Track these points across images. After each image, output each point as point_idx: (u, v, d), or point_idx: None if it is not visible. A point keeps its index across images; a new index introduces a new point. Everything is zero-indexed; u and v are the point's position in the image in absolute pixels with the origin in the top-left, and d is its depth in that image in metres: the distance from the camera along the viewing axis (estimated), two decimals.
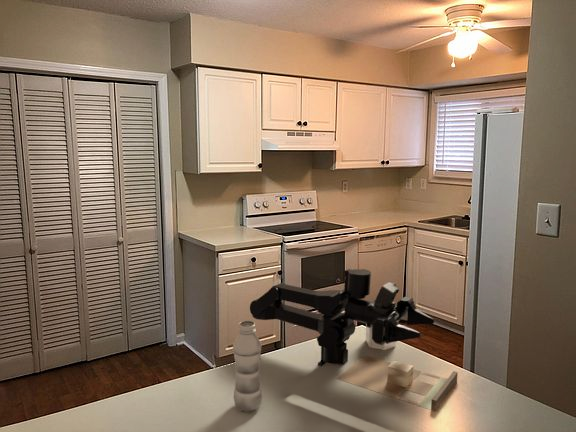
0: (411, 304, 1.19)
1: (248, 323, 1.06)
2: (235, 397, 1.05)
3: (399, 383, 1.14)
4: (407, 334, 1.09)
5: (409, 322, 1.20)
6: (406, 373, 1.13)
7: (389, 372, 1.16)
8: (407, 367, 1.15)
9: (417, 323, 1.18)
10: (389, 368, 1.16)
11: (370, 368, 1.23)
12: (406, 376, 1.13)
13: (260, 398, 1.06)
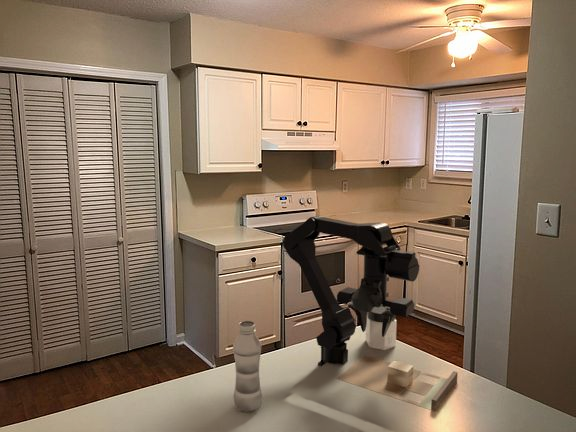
0: (384, 315, 1.14)
1: (248, 323, 1.06)
2: (235, 397, 1.05)
3: (399, 383, 1.14)
4: None
5: None
6: (406, 373, 1.13)
7: (389, 372, 1.16)
8: (407, 367, 1.15)
9: None
10: (389, 368, 1.16)
11: (370, 368, 1.23)
12: (406, 376, 1.13)
13: (260, 398, 1.06)
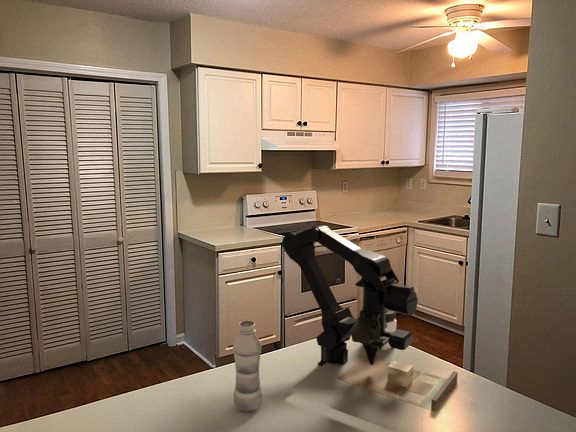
0: (373, 345, 1.17)
1: (248, 323, 1.06)
2: (235, 397, 1.05)
3: (399, 383, 1.14)
4: None
5: None
6: (406, 373, 1.13)
7: (389, 372, 1.16)
8: (407, 367, 1.15)
9: None
10: (389, 368, 1.16)
11: (370, 368, 1.23)
12: (406, 376, 1.13)
13: (260, 398, 1.06)
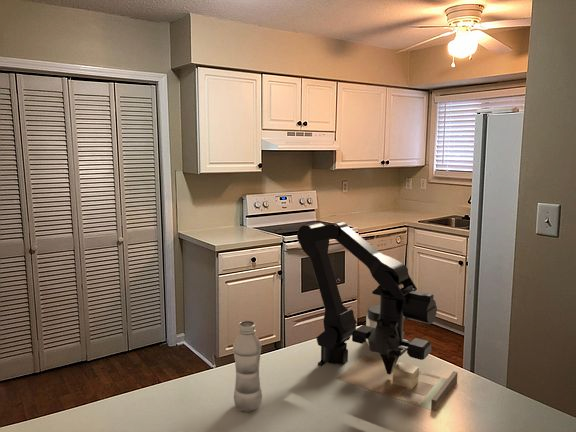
0: (390, 354, 1.14)
1: (248, 323, 1.06)
2: (235, 397, 1.05)
3: (404, 385, 1.14)
4: None
5: None
6: (411, 375, 1.12)
7: (394, 374, 1.15)
8: (413, 369, 1.14)
9: None
10: (394, 370, 1.15)
11: (370, 368, 1.23)
12: (411, 378, 1.12)
13: (260, 398, 1.06)
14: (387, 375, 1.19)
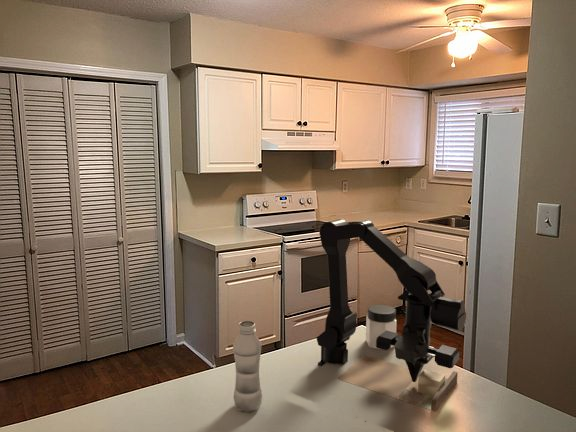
0: (416, 362, 1.11)
1: (248, 323, 1.06)
2: (235, 397, 1.05)
3: (431, 393, 1.10)
4: None
5: None
6: (438, 383, 1.08)
7: (420, 382, 1.11)
8: (439, 377, 1.10)
9: None
10: (420, 377, 1.11)
11: (370, 368, 1.23)
12: (438, 386, 1.09)
13: (260, 398, 1.06)
14: (387, 375, 1.19)
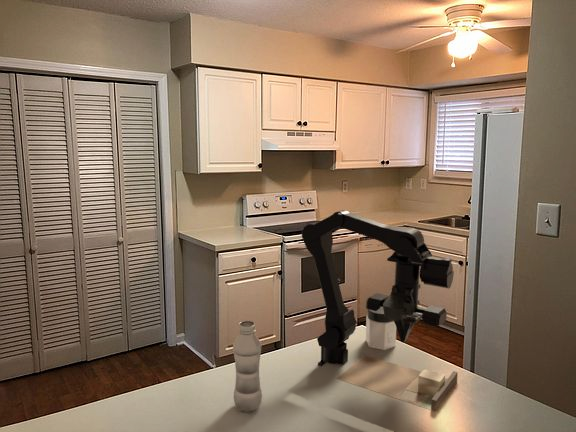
0: (405, 321, 1.13)
1: (248, 323, 1.06)
2: (235, 397, 1.05)
3: (431, 393, 1.10)
4: None
5: None
6: (438, 383, 1.08)
7: (420, 382, 1.11)
8: (439, 377, 1.10)
9: None
10: (420, 377, 1.11)
11: (370, 368, 1.23)
12: (438, 386, 1.09)
13: (260, 398, 1.06)
14: (387, 375, 1.19)
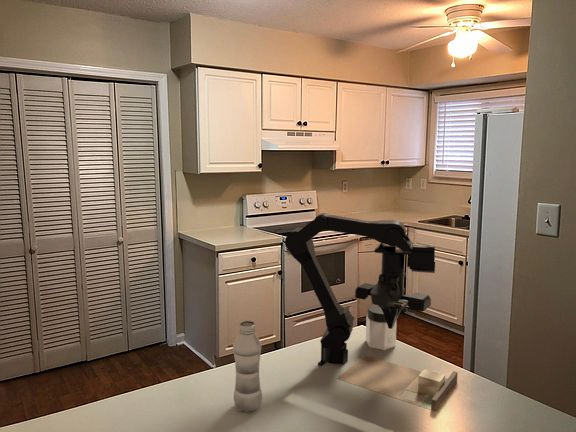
0: (392, 308, 1.19)
1: (248, 323, 1.06)
2: (235, 397, 1.05)
3: (431, 393, 1.10)
4: None
5: None
6: (438, 383, 1.08)
7: (420, 382, 1.11)
8: (439, 377, 1.10)
9: None
10: (420, 377, 1.11)
11: (370, 368, 1.23)
12: (438, 386, 1.09)
13: (260, 398, 1.06)
14: (387, 375, 1.19)
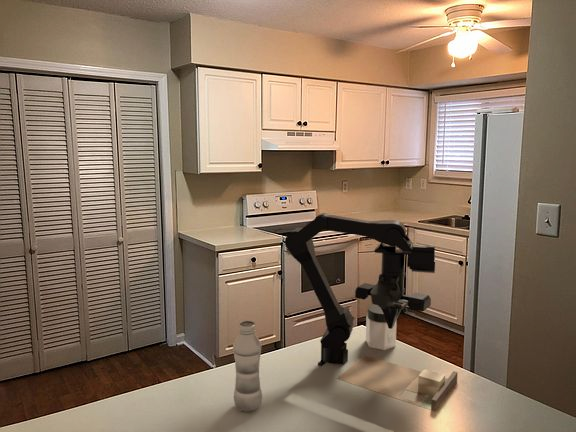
0: (392, 308, 1.19)
1: (248, 323, 1.06)
2: (235, 397, 1.05)
3: (431, 393, 1.10)
4: None
5: None
6: (438, 383, 1.08)
7: (420, 382, 1.11)
8: (439, 377, 1.10)
9: None
10: (420, 377, 1.11)
11: (370, 368, 1.23)
12: (438, 386, 1.09)
13: (260, 398, 1.06)
14: (387, 375, 1.19)
